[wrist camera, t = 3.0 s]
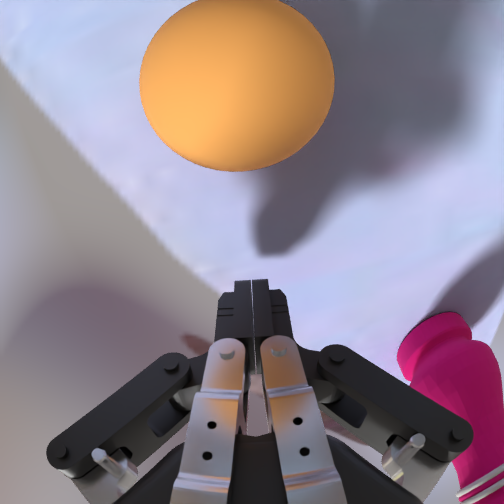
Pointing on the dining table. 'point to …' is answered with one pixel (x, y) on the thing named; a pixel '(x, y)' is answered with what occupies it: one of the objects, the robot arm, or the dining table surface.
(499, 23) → the dining table surface
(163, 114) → the ball
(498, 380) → the pepper mill
